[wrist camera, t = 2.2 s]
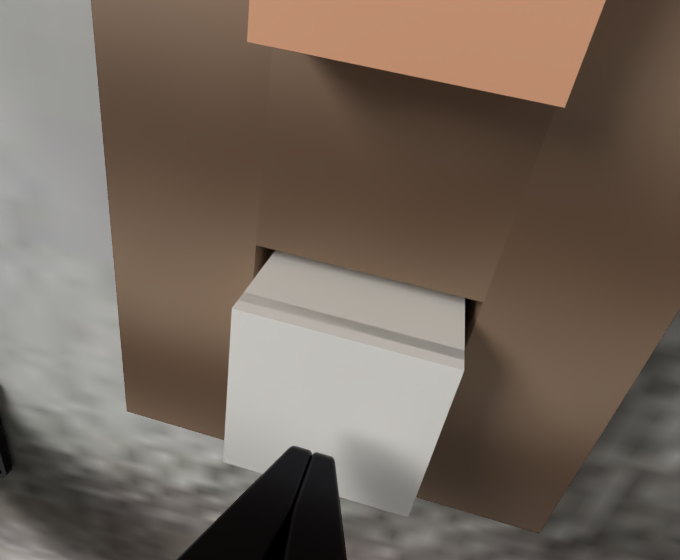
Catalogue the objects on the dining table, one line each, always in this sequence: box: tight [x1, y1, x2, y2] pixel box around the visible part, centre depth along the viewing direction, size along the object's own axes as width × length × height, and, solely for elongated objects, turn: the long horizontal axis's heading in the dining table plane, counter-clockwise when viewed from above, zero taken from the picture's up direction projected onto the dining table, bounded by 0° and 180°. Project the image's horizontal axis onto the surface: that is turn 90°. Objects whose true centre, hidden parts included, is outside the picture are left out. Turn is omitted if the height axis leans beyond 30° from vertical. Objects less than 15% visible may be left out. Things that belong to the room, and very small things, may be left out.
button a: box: [223, 250, 465, 517], centre depth 12 cm, size 4×4×4 cm
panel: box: [91, 0, 680, 533], centre depth 11 cm, size 17×12×4 cm
